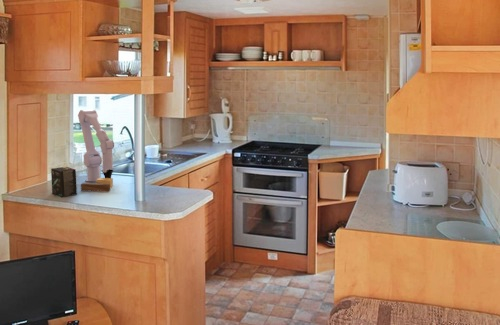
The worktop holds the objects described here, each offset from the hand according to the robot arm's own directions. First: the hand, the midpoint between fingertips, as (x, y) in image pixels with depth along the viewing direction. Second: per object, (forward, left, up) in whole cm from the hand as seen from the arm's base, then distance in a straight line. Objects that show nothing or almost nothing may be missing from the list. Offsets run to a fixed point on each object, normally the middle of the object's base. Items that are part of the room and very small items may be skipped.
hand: (108, 181), depth 306 cm
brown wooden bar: (+17, -2, -1) cm, 17 cm away
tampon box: (+28, -16, -2) cm, 32 cm away
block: (+7, 0, -2) cm, 7 cm away
